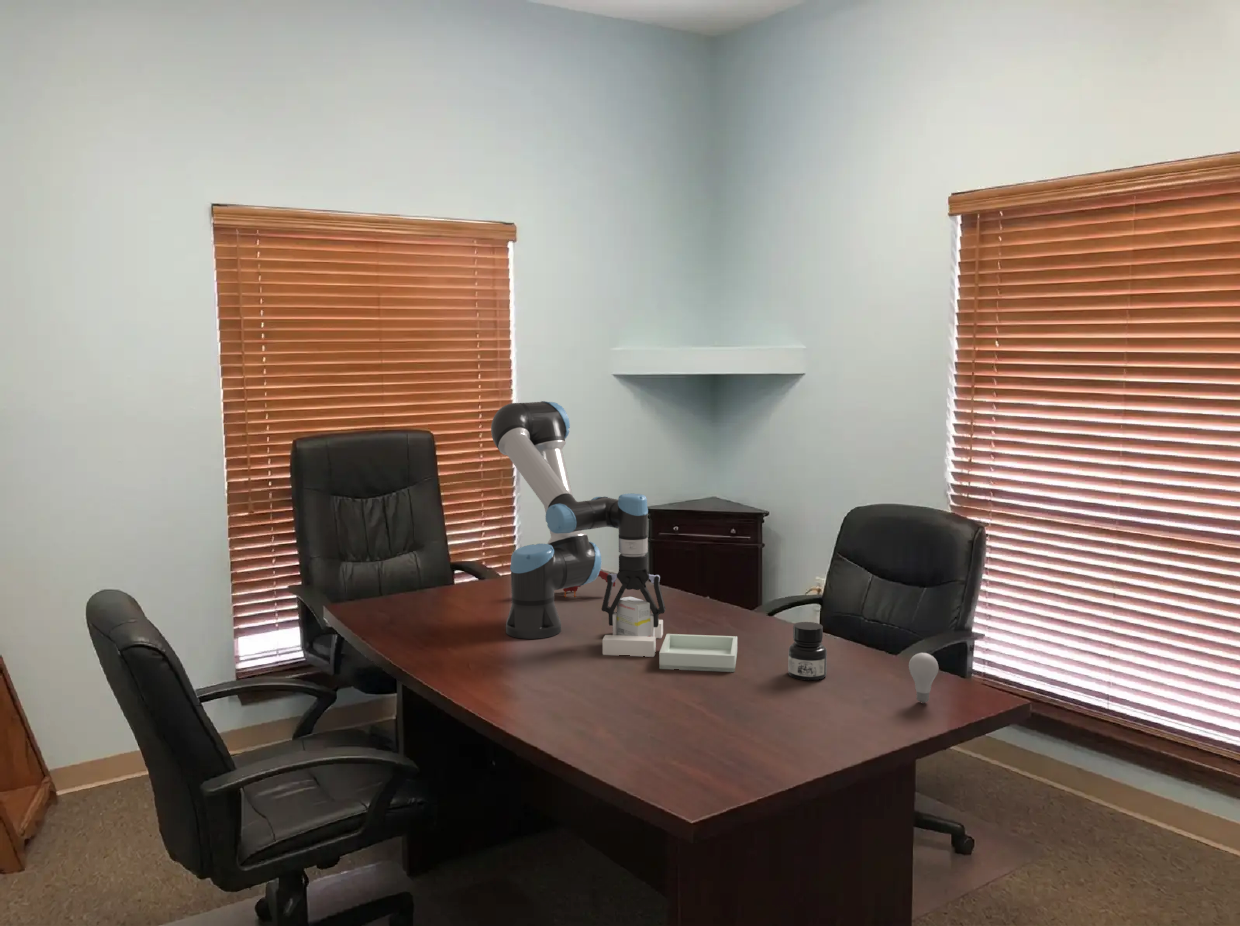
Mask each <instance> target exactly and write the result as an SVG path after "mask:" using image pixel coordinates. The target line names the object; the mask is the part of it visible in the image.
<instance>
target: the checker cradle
mask: <svg viewBox="0 0 1240 926" xmlns="http://www.w3.org/2000/svg"><path fill="white" fill-rule="evenodd" d="M663 635H664V620H663V619H659V624H658V627H655V637H648V636H622V635H613V634H605V635H604V636H603V638H602V656H619V655H630V656H629V657H643V656H645V658H647V657H649V658H654V657H655V655H656V653H655V652H656V651H657V647H656V646H657V643H656V642H657V641H656V640H657V639H662V637H663Z"/></svg>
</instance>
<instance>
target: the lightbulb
mask: <svg viewBox="0 0 1240 926" xmlns="http://www.w3.org/2000/svg"><path fill="white" fill-rule="evenodd" d="M938 663H939V662H938V661H937V659H936V658H935V657H934V655H932V654H930V653H927V652H918V653H915V655H913V656H912V657H911V658H910V660H909V662H908V671H909V674H910V676H911V677H912V679H913V682H914V689H915V691H916V700H917V701H918V702H919V703H920V702H922V703H921V704H925V703H927V702H929V701H930V692H931V688H932V684H933V682H934V680H935V678H936V677H937V675H938V673H939V670H940V669H939V664H938Z"/></svg>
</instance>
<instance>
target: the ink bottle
mask: <svg viewBox="0 0 1240 926" xmlns="http://www.w3.org/2000/svg"><path fill="white" fill-rule="evenodd" d="M792 629H793V630H792V638H793V643H792V644H790V645H789V647H788V661H787V662H788V663H787V665H788V667H787V669H788V675H789V676H790V677H791V678H793V679H796V680H800V679H802V680H801V681H809V680H814V681H820V680H823V679H824V677H825V678H826V676H827V674H828V673H827V670H828V669H827V668H828V667H827V664H828V660H827V659H828V651H827V650H828V649H827V647H826V646H825V645H823V643H822V642H823V637H824V636H823V635H824V634H823V632H824V631H823V630H824V627H823V625H822V624H821V623H818V622H814V621H800V622H795V623H793V627H792ZM819 679H820V680H819Z"/></svg>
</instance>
